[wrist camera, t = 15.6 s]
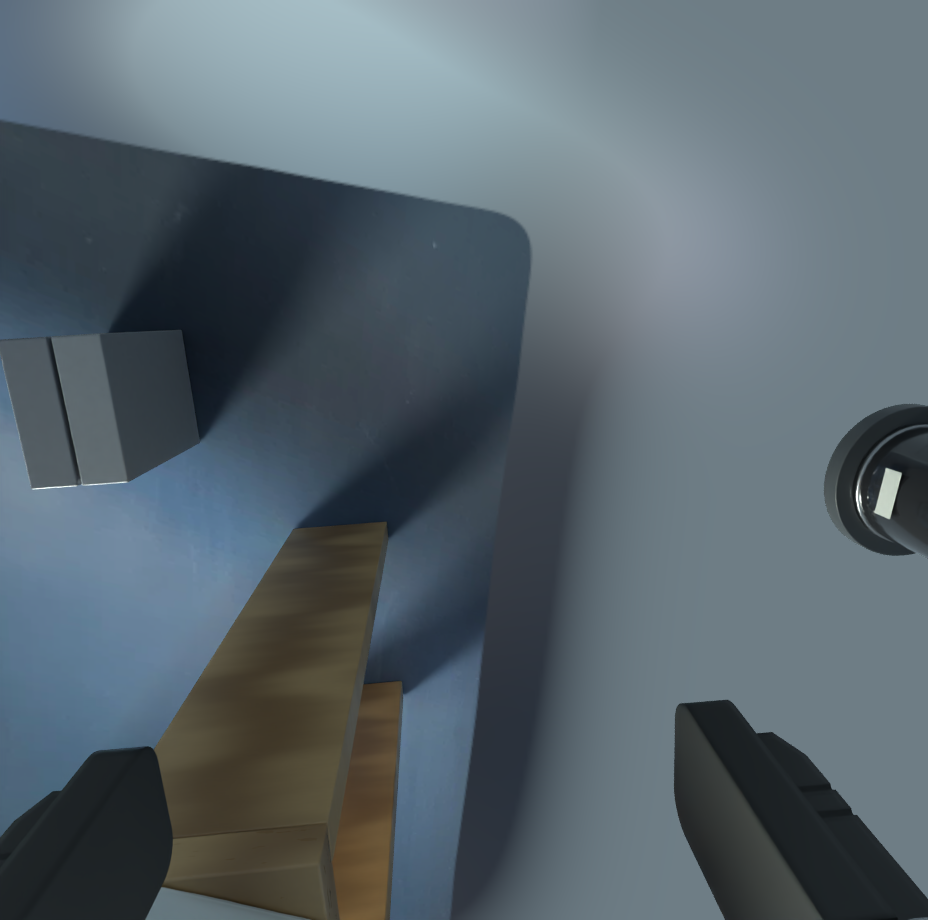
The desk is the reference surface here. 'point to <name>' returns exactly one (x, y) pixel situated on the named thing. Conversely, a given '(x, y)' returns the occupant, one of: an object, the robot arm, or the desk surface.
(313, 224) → the desk surface
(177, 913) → the small box
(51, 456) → the grey books
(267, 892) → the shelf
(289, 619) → the shelf stand
